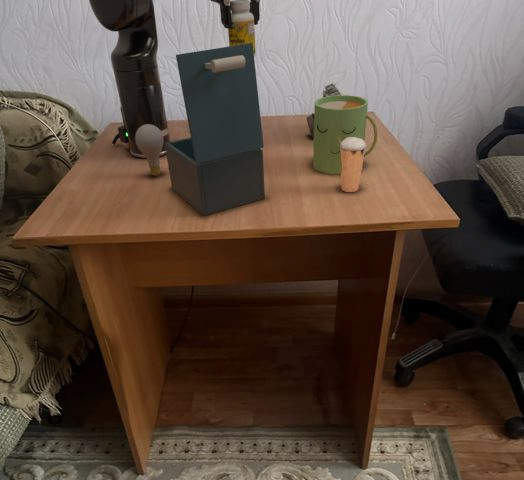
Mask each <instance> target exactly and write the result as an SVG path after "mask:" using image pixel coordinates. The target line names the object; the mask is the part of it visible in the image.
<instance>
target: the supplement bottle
mask: <svg viewBox="0 0 524 480" xmlns="http://www.w3.org/2000/svg"><path fill="white" fill-rule="evenodd" d="M250 2H251V1H250V0H230V2H229V6H231V20H232V28H229V29H227V33H228V47H229V46H235V45H242V44H248V43H253V52H254V58H255V57H256V51H257V50H256V34H255V33H256V32H255V30H256V29H255V25H254V16H253V14H252V13H250V12H249V9H250Z"/></svg>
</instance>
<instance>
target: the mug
mask: <svg viewBox="0 0 524 480" xmlns="http://www.w3.org/2000/svg"><path fill="white" fill-rule="evenodd" d="M368 105H369V101H368V100H367V99H366V98H365V97H362V96H358V95H351V94H350V95H349V94H341V95H335V96H327V97H323V96H322V97H320V98H318V99H316V100H315V101H314V113H313V114H314V137H313V155H312V156H313V158H312V163H313V164H312V167H313V168H314V169H315V171H318V172H320V173H324V174H327V175H341V156H340V142H339V139H338V136H339V138H340V141H341V142H342V141H343V140H345V139H346V138H347V137H357V138H361V139H362V140H364V141H366V128H367V120H368V121H369V122H370V124H371V126H372V128H373V140H372V141H373V142H372V144H371V146H370V148H368V150H367V151H365V154H364V158H365V157H367V156H368V155H369V154H371V153H372V151H373V150H374V148H375V147H376V144H377V141H378V128H377V124H376V122H375V120H374V119H373V118H372V116H371V115H369V114H368V107H369V106H368Z"/></svg>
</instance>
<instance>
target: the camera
mask: <svg viewBox="0 0 524 480" xmlns="http://www.w3.org/2000/svg"><path fill="white" fill-rule="evenodd" d="M335 95H342V92H340V90H339V89H338V88H337V86H336V84H334V83H330V84H328V85H325V87H324V90H322V98H323V97H327V96H335ZM306 121H307V122H306V123H307V127H308V129H309V133H310V135H311V138H312V139H314V113H311V114H310V115H308V116H306Z"/></svg>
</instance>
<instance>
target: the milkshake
mask: <svg viewBox="0 0 524 480" xmlns="http://www.w3.org/2000/svg"><path fill="white" fill-rule="evenodd" d="M338 139H339V142H340V156H341V174H340V189H341V191H343V192H346V193H354V192H355V193H356V192H357V191H358V190H359V189H360V184H361V177H362V170H363V166H364V165H363V163H364V159H365V157H364V154H365V153H366V148H367V143H366V140H362V139H361V138H357V137H347V138H346V139H345V140H343V141H342V142H341V141H340V138H339V136H338Z"/></svg>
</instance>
